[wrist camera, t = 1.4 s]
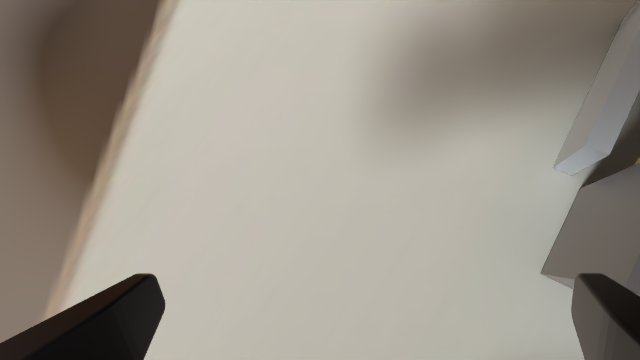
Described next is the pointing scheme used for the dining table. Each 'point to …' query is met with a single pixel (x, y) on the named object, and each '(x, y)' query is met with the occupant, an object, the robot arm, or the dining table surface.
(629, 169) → the plug
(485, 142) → the dining table surface
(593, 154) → the socket
